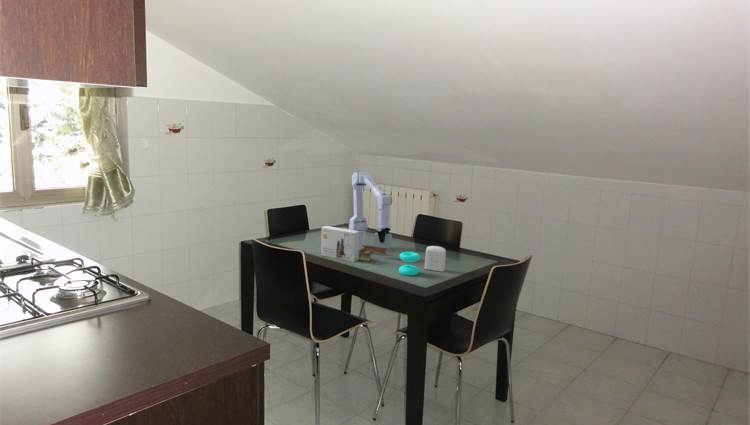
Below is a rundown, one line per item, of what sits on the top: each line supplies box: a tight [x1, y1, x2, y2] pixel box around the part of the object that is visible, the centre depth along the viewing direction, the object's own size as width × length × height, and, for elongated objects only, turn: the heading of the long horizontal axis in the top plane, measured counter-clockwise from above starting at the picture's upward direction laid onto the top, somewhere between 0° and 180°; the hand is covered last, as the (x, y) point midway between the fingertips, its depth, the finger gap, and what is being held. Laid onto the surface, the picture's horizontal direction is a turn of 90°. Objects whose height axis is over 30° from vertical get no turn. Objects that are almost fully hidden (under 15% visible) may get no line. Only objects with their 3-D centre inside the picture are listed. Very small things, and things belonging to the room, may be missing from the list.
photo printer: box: [424, 245, 447, 273], centre depth 271 cm, size 10×4×12 cm, turn 72°
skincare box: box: [320, 225, 360, 262], centre depth 287 cm, size 21×5×16 cm, turn 62°
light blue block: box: [373, 232, 393, 249], centre depth 290 cm, size 3×9×7 cm, turn 70°
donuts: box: [398, 251, 421, 277], centre depth 264 cm, size 10×10×10 cm
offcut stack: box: [360, 251, 372, 261], centre depth 286 cm, size 2×5×4 cm, turn 70°
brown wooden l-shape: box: [359, 244, 387, 257], centre depth 295 cm, size 12×14×4 cm
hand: (382, 241), depth 290 cm, fingers closed on light blue block, 3 cm apart
